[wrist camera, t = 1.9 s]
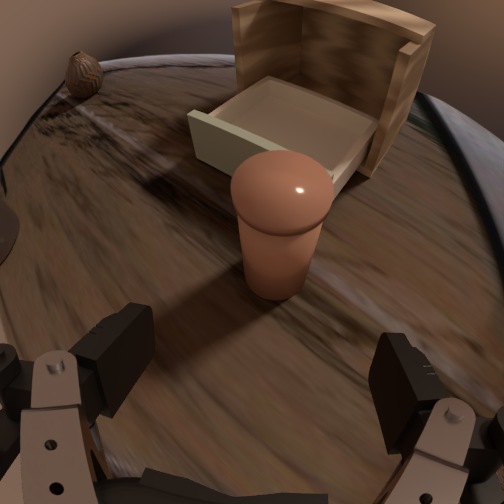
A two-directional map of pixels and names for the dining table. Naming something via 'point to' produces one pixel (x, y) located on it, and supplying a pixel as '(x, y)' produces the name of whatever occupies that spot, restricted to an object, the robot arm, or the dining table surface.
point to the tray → (283, 129)
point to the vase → (83, 75)
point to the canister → (279, 218)
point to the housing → (337, 56)
